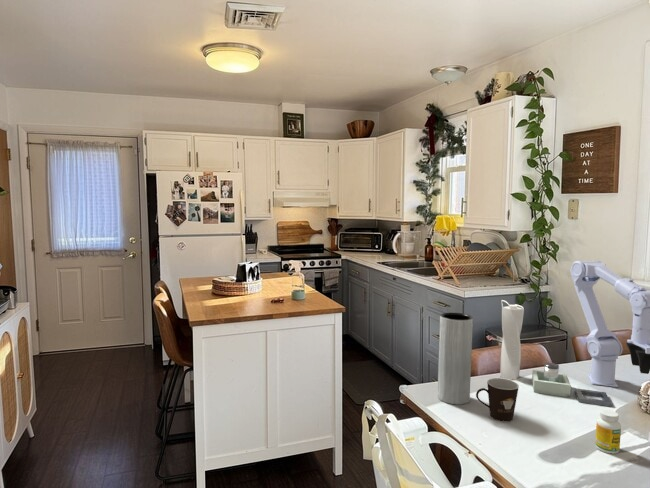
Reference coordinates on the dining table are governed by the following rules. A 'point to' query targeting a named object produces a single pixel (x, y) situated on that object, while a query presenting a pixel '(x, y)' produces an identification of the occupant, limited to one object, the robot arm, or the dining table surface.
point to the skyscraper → (511, 341)
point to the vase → (455, 358)
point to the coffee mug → (501, 398)
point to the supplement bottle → (608, 432)
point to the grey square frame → (603, 402)
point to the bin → (551, 384)
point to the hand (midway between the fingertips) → (640, 369)
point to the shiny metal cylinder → (551, 372)
